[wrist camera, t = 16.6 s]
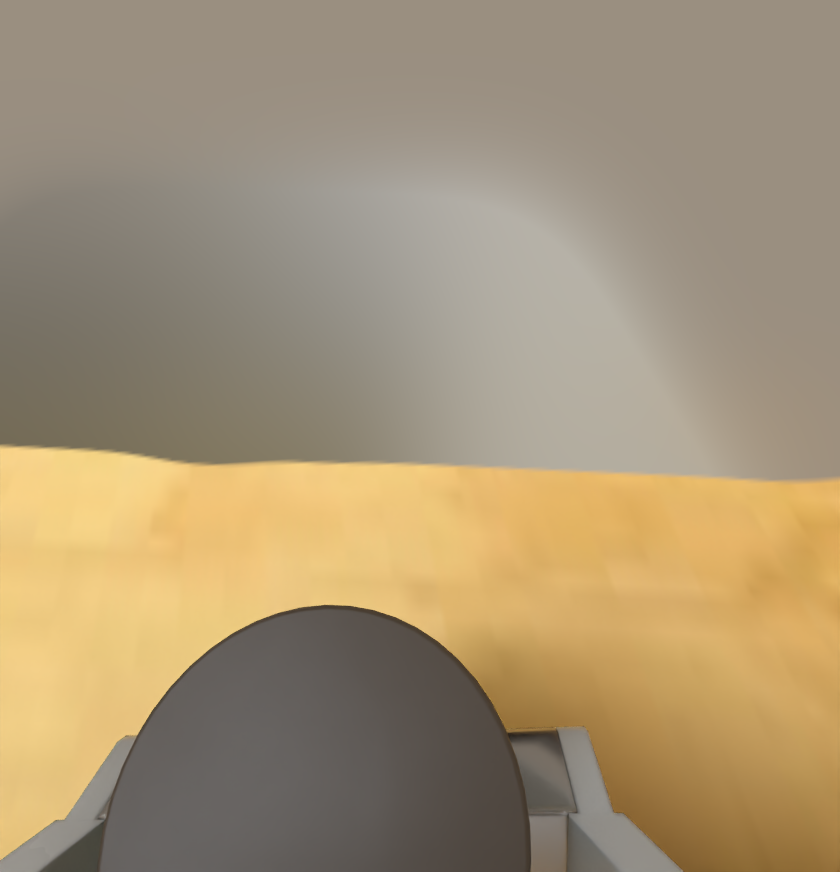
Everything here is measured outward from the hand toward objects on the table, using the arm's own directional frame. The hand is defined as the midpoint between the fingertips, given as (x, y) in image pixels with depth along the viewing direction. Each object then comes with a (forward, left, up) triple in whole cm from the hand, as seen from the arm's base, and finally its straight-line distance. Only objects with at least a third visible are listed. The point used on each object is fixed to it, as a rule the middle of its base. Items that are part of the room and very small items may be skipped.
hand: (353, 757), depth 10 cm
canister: (0, -1, -5) cm, 5 cm away
